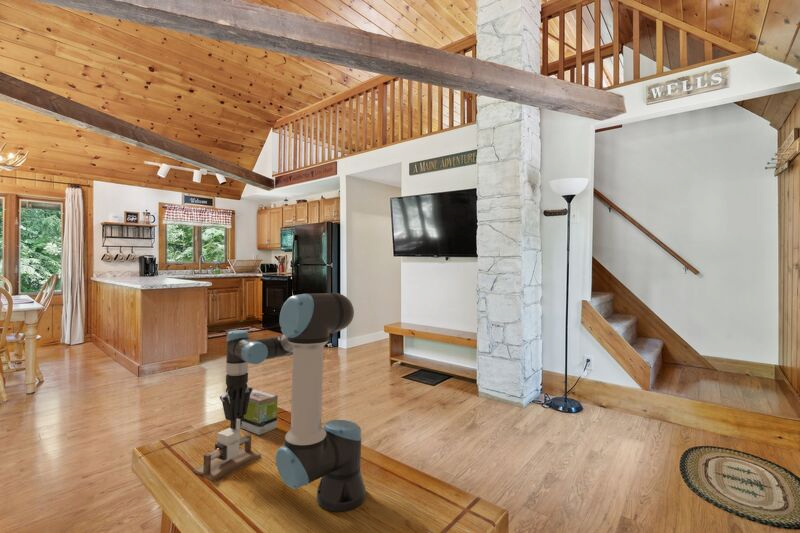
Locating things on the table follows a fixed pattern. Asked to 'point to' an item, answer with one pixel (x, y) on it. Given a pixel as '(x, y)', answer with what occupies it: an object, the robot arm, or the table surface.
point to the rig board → (226, 463)
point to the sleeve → (229, 441)
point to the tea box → (261, 412)
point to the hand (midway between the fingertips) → (235, 436)
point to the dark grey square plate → (223, 451)
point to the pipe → (219, 451)
